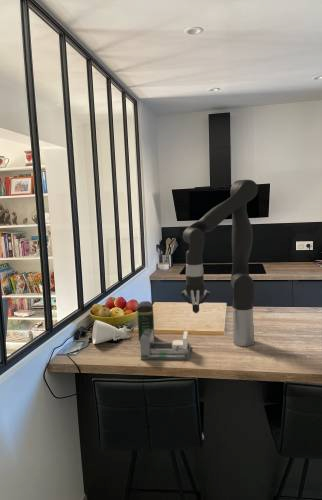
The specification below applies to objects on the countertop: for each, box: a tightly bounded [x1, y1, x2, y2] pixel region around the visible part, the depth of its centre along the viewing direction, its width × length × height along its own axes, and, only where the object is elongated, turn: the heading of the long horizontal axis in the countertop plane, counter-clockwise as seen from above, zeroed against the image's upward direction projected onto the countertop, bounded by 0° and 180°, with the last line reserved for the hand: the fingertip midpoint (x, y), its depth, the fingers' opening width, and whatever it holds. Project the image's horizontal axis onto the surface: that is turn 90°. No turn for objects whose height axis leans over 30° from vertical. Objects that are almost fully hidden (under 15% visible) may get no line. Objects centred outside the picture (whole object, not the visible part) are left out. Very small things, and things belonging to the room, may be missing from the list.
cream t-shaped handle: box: [171, 330, 189, 351], centre depth 166 cm, size 7×11×7 cm, turn 172°
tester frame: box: [139, 329, 192, 361], centre depth 168 cm, size 21×14×9 cm, turn 82°
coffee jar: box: [136, 301, 155, 341], centre depth 185 cm, size 10×8×19 cm
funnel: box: [91, 319, 131, 345], centre depth 187 cm, size 12×12×18 cm
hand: (195, 312), depth 164 cm, fingers closed
